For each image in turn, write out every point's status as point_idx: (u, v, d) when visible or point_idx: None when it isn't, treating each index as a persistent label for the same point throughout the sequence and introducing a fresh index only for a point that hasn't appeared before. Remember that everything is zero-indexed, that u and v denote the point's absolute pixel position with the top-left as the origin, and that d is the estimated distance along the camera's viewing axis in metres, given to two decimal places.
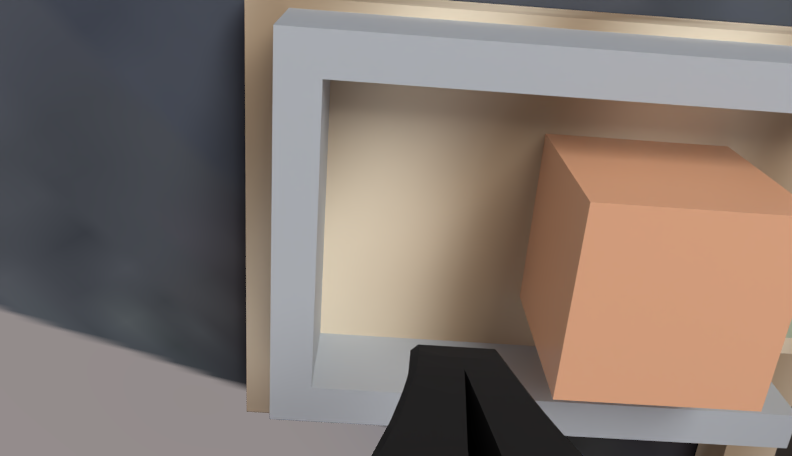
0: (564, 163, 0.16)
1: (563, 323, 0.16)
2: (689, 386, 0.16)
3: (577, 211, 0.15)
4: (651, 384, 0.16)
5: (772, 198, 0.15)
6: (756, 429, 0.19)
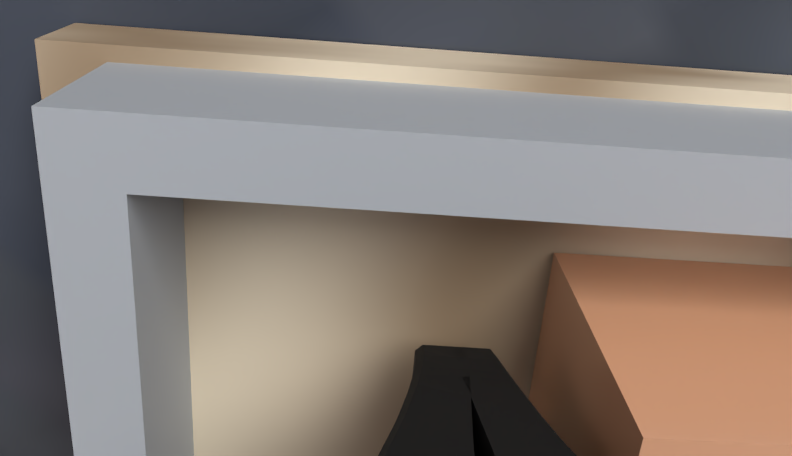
0: (588, 324, 0.10)
1: None
2: None
3: (615, 431, 0.09)
4: None
5: None
6: None
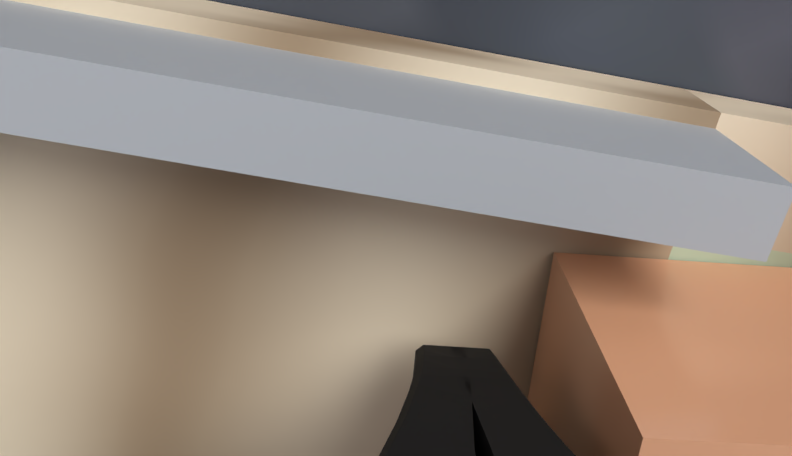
0: (588, 324, 0.10)
1: None
2: None
3: (615, 432, 0.09)
4: None
5: None
6: None
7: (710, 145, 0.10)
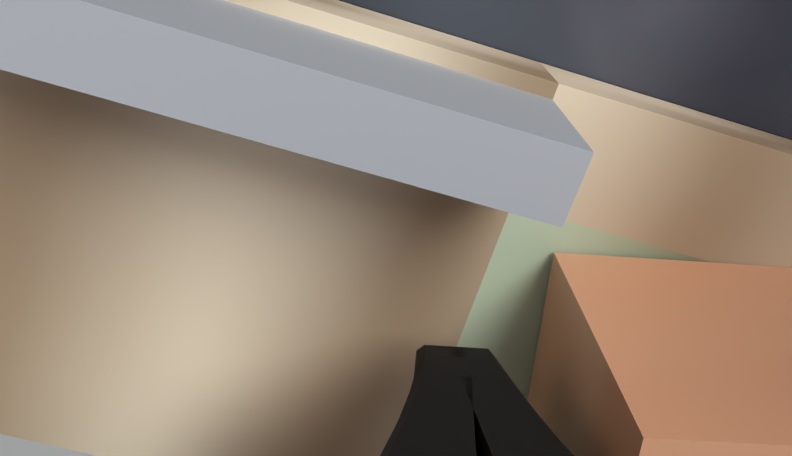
0: (588, 324, 0.10)
1: None
2: None
3: (614, 432, 0.09)
4: None
5: None
6: None
7: (531, 109, 0.10)
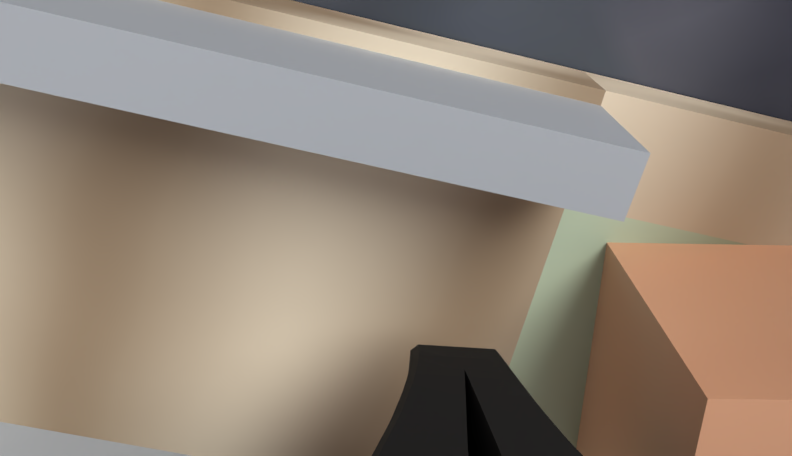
0: (646, 305, 0.11)
1: None
2: None
3: (679, 398, 0.10)
4: None
5: None
6: None
7: (586, 116, 0.11)
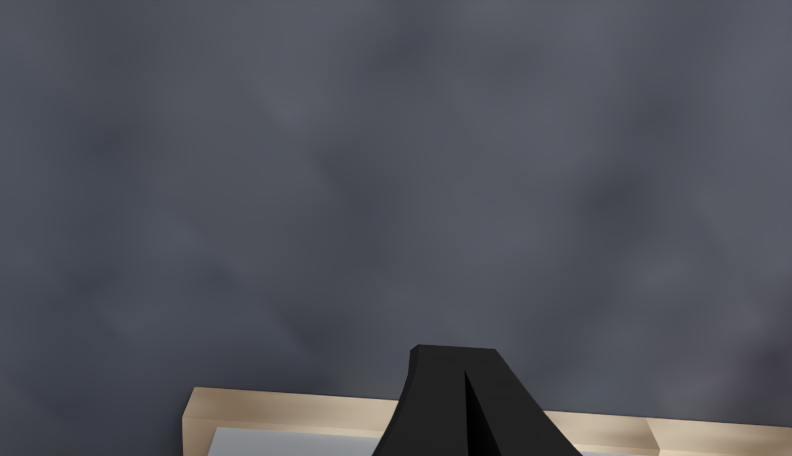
0: None
1: None
2: None
3: None
4: None
5: None
6: None
7: None
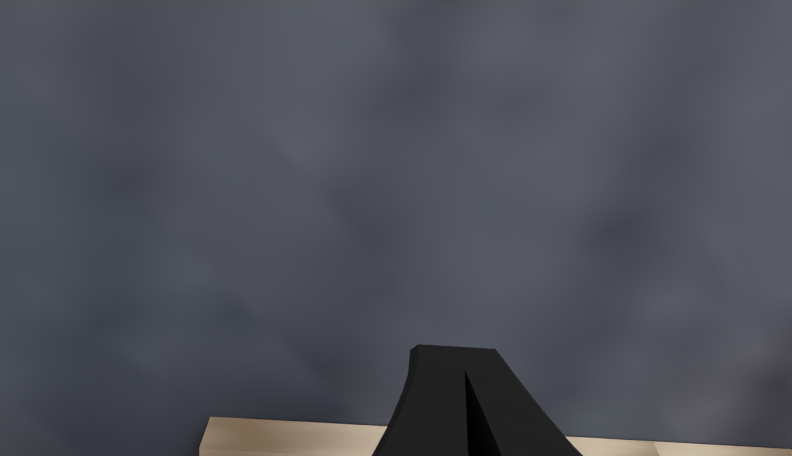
0: None
1: None
2: None
3: None
4: None
5: None
6: None
7: None
